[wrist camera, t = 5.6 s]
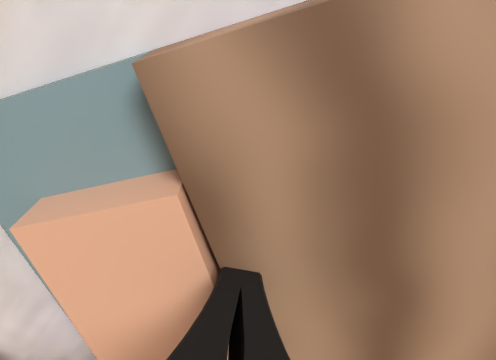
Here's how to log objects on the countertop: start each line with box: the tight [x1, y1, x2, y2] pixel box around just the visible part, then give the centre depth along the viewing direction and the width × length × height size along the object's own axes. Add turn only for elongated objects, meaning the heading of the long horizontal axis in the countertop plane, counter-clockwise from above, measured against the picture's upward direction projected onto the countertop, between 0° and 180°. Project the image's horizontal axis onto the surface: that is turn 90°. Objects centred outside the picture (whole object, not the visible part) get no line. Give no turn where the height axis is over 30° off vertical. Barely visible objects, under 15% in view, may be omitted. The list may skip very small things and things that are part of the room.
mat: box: [0, 51, 177, 321], centre depth 15 cm, size 8×14×1 cm, turn 17°
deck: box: [131, 0, 496, 360], centre depth 14 cm, size 10×16×2 cm, turn 17°
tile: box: [9, 169, 229, 360], centre depth 15 cm, size 6×8×2 cm
